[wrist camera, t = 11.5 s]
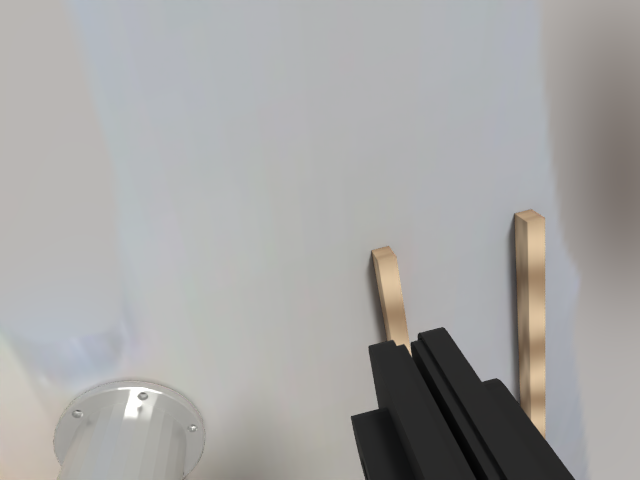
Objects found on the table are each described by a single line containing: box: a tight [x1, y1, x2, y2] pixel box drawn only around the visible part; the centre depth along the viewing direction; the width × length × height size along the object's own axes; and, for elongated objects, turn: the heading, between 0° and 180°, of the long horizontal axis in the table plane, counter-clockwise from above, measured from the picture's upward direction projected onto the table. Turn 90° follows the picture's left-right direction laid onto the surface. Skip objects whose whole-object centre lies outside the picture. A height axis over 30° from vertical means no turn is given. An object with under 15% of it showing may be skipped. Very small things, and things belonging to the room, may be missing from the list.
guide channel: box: [372, 209, 545, 439], centre depth 45 cm, size 27×14×2 cm, turn 12°
